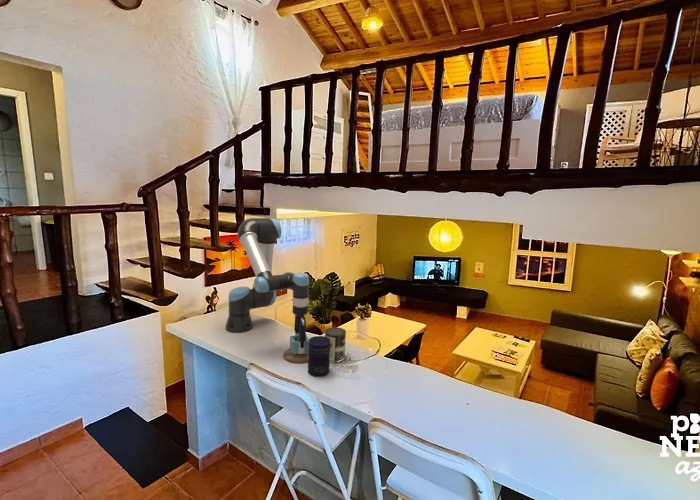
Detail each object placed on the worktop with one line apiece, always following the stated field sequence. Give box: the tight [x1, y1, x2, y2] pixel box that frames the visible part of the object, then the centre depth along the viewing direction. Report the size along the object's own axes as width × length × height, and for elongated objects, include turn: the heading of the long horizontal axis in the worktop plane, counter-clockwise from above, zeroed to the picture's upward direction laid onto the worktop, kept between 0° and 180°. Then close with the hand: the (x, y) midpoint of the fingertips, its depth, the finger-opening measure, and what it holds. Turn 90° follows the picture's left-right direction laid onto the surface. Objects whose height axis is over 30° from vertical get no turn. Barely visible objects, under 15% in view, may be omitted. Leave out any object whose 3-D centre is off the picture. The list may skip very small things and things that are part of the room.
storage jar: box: [307, 335, 330, 378], centre depth 160 cm, size 10×10×15 cm
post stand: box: [282, 337, 309, 364], centre depth 175 cm, size 16×16×9 cm
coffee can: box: [324, 327, 347, 364], centre depth 173 cm, size 10×10×14 cm
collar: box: [289, 334, 310, 354], centre depth 174 cm, size 8×8×6 cm
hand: (299, 349), depth 175 cm, fingers closed on collar, 8 cm apart
